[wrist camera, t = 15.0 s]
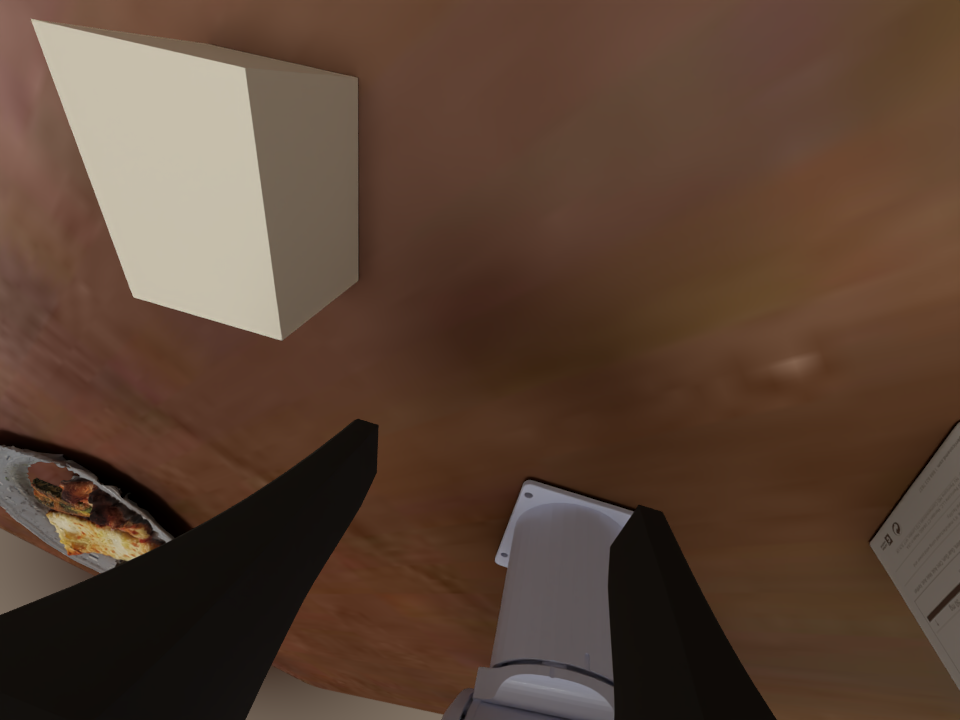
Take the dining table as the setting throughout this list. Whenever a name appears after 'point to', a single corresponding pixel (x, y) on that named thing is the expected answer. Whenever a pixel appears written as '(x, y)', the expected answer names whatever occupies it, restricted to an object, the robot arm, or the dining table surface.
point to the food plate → (77, 512)
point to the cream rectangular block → (215, 172)
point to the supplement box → (929, 551)
